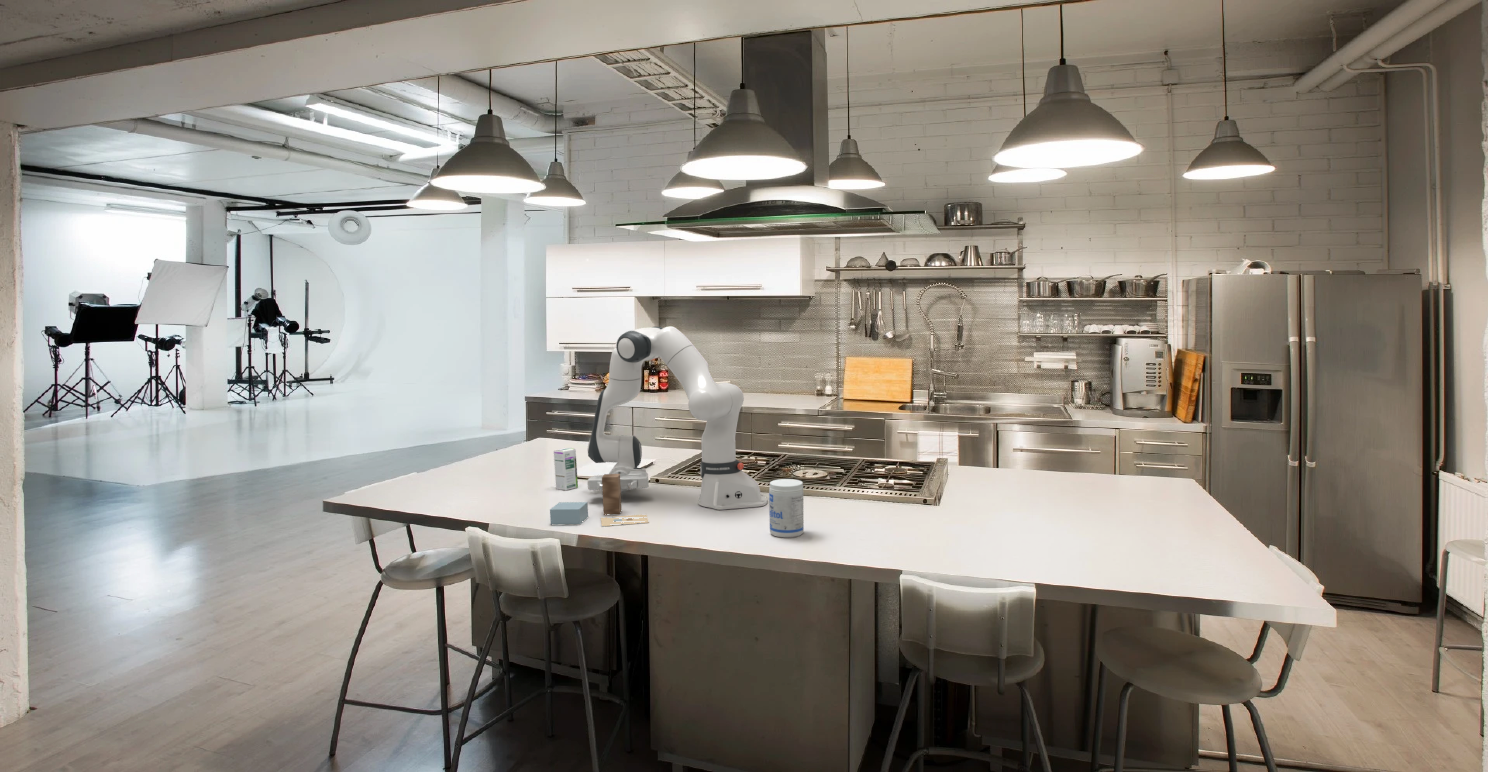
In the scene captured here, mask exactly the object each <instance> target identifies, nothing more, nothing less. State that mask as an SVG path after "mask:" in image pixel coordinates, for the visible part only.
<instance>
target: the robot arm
mask: <svg viewBox="0 0 1488 772" xmlns="http://www.w3.org/2000/svg"><path fill="white" fill-rule="evenodd" d="M657 358H660V359H661V360H662V362H664V364H665V365H666V366H667V368H668V369H669V370H670V372H672V374H673V375H674V377H675V378H676V379H677V380H678V382H679V383H680V385H681V387H682V388H683V391H684V393H685V394H686V397H687V400H688V403H687V404H688V410H689V413H690V414H691V415H692V417H693V418H695V419H696V420H698V421H703V422H704V421H705V422H706V423H705V428H704V431H703V433H702V434H701V440H700V443H701V461H700V478H701V485H700V486H701V487H700V494H699V498H698V499H699V500H698V502H697V503H698V505H700V506H701V507H706V508H710V509H714V510H719V511H720V510H721V511H722V510H733V509H747V508H758V507H763V506H766V505H767V504H768V499H767V498H768V497H767V496H766V495H764V494H762V493H761V489H760V485H759V483H758V482H757V481H756V480H755V479H754V478H753V477H751V476H750V475H749V474H747V473H746V472H744V471H743V469H744V468H745V465H744V463H743V462H742V461H741V460H739V459H737V458H736V453H737V452H736V435H737V425H738V421H739V417H740V416H739V415H740V411H741V408H742V407H743V405H744V399H745V397H744V393H743V391H742V389H741V388H740V387H739V386H738V385H736V384H734V383H730V382H720V383H716V381H714V378H713V377H712V374H711V373H710V366H709V363H708V361H707V360H706V359H705V358H704V356H703V355H702V354H701V353H700V351H699V350H698V349H697V348H696V346H695V345H694V344H693V343H692V342H691V341H690V339H689V338H688V336H686V335H685V334H684V333H683V332H682V331H680V330H679V329H678V328H676V327H675V326H672V325H671V326H665V327H662V326H652V327H651V326H650V327H639V328H636V329H632V330H628V331H626V332H624V333H623V334H620V336H619V337H618V339H617V341H616V345H615V348H614V349H613V350H612V352H611V355H610V361H609V370H608V377H609V378H608V383H607V386H606V387H605V389H603V390H601V391H600V393H599V396H598V399H597V403H596V407H595V412H594V418H593V422H592V423H593V424H592V428H591V429H592V430H591V434H590V438H589V442H588V444H587V456H588V457H589V458H590V460H591V461H592V462H594V463H595V464H603V463H605V464H606V463H616V464H614V465H613V467H612V468H611V470H610V471H609V473H608V474H620V484H621V493H623V492H626V491H630V490H634V489H635V490H636V489H648V488H649V481H650V480H649V473H648V472H647V469H646V468H644V467H639V465H640V464H641V463H642V462H641V461H642V456H643V455H642V453H643V452H642V450H643V449H642V443H641V441H640V440H639V439H638V437H637V436H635V435H630V434H627V435H626V434H623V435H622V434H620V435H619V434H617V435H616V434H615V435H614V434H606V433H605V432H604V431H605V427H606V421H607V415H608V412H610V410H612V409H613V408H615V407H618V406H621V405H625V404H627V403H629V402H632V401H633V400H634V399H636V398H637V397H638V395H639V394H640V392H641V388H642V366H643V364H644V362H646V361H647V362H648V361H652V360H655V359H657ZM603 475H604V474H602V475H601V474H600V475H599V474H598V475H593V476H590V477H589V478H588V479H587V490H590V491H598V490H599V491H602V477H603Z"/></svg>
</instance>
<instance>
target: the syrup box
mask: <svg viewBox="0 0 1488 772" xmlns="http://www.w3.org/2000/svg"><path fill="white" fill-rule="evenodd" d="M553 460H554V461H553V463H554V477H555V478H554V479H555V488H556V490H560V491H569V490H572V489H577V488H578V487H579V483H578V482H579V481H578V480H579V479H578V464H577V449H576V448H574V447H564V448H559V449H554V450H553Z"/></svg>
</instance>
